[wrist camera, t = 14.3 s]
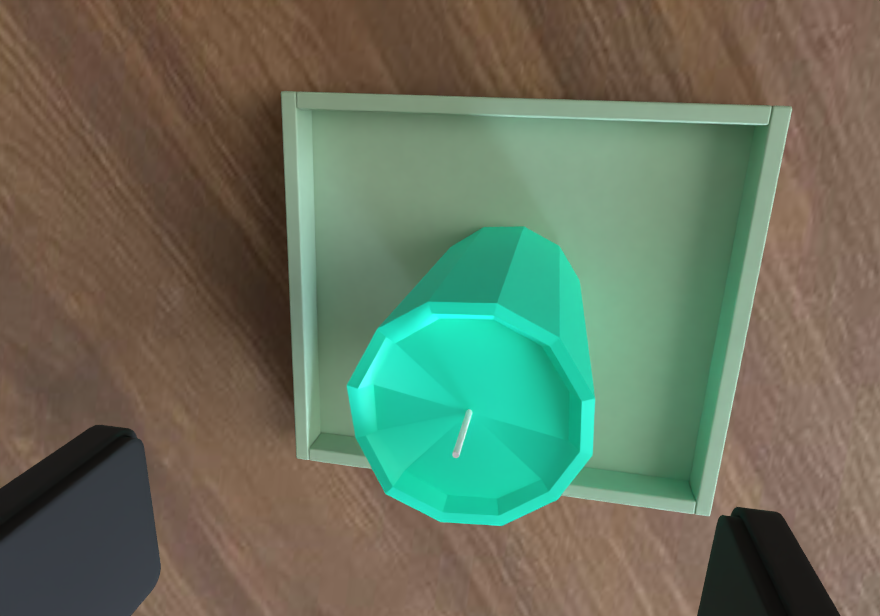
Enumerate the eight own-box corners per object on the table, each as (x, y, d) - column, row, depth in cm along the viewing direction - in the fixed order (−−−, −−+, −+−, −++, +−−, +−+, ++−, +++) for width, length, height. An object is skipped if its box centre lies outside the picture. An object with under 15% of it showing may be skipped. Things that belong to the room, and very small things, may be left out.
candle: (559, 205, 22) (560, 286, 11) (598, 350, 24) (633, 555, 12) (412, 247, 24) (281, 356, 13) (455, 382, 25) (372, 588, 14)
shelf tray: (314, 435, 28) (295, 458, 26) (303, 93, 24) (280, 90, 22) (698, 486, 25) (710, 517, 23) (771, 108, 21) (793, 106, 19)
